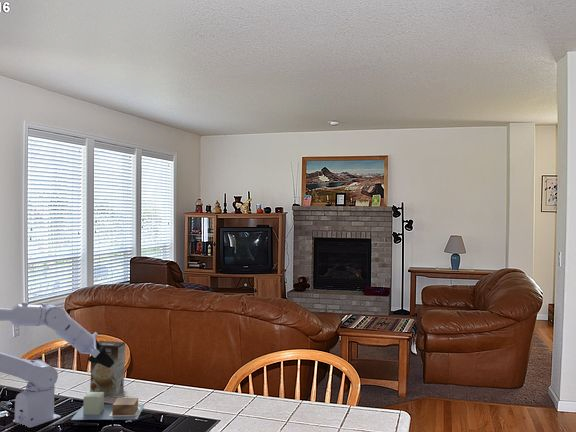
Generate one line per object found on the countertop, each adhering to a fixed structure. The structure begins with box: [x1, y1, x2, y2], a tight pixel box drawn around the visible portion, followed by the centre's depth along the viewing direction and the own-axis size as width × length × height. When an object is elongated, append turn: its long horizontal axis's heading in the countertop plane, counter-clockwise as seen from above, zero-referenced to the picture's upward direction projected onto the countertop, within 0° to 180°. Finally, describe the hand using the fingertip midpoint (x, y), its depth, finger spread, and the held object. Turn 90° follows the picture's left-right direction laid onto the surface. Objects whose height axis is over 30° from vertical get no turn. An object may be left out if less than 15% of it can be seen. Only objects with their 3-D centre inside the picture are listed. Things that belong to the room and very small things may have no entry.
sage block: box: [82, 391, 105, 415], centre depth 151 cm, size 4×4×5 cm
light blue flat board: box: [70, 403, 146, 421], centre depth 151 cm, size 18×12×1 cm, turn 95°
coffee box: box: [89, 340, 126, 396], centre depth 169 cm, size 9×6×16 cm
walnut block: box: [112, 397, 139, 415], centre depth 151 cm, size 6×6×3 cm
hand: (108, 360), depth 158 cm, fingers open, 7 cm apart
